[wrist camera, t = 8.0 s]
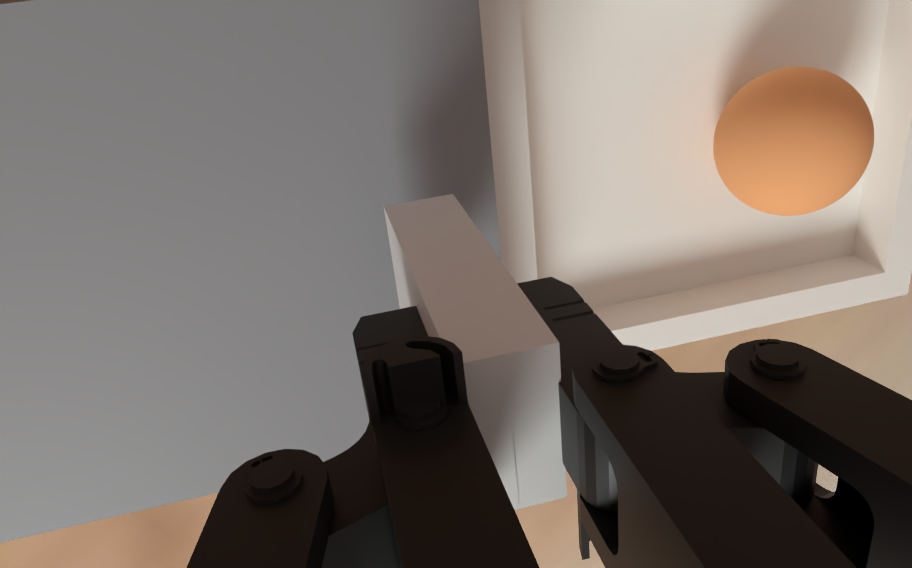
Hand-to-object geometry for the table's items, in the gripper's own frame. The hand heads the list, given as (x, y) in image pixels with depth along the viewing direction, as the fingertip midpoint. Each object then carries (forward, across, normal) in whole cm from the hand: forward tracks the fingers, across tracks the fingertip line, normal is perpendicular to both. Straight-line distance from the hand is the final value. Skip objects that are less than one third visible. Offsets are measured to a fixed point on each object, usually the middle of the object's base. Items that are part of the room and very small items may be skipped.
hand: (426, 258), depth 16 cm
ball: (+3, -11, 0) cm, 11 cm away
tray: (+5, -9, 0) cm, 11 cm away
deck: (+5, +6, 0) cm, 8 cm away
